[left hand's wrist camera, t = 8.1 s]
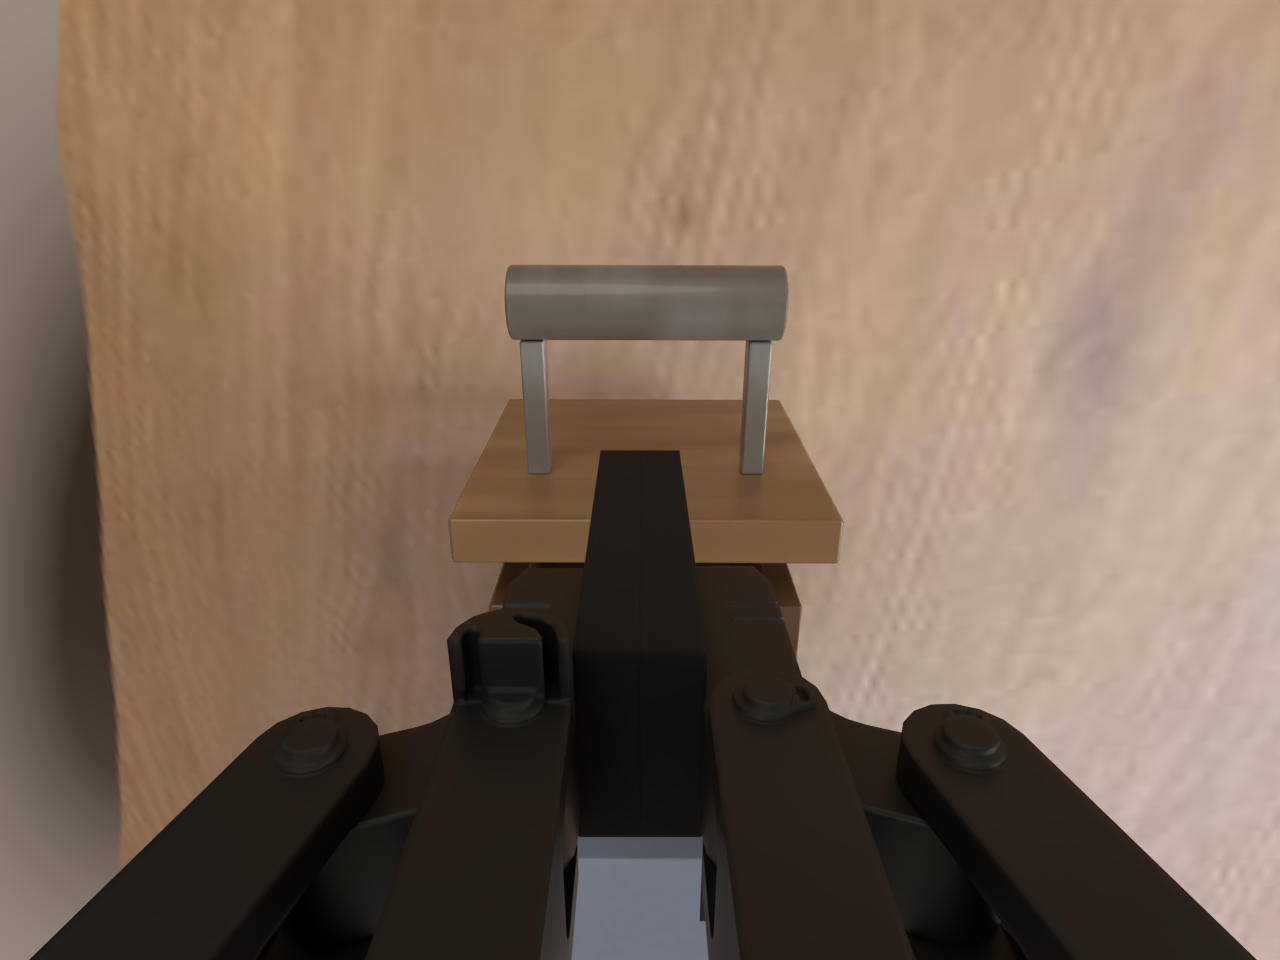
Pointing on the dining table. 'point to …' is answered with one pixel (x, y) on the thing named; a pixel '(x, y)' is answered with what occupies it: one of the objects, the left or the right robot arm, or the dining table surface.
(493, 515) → the drawer
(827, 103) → the dining table surface
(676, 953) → the cabinet
